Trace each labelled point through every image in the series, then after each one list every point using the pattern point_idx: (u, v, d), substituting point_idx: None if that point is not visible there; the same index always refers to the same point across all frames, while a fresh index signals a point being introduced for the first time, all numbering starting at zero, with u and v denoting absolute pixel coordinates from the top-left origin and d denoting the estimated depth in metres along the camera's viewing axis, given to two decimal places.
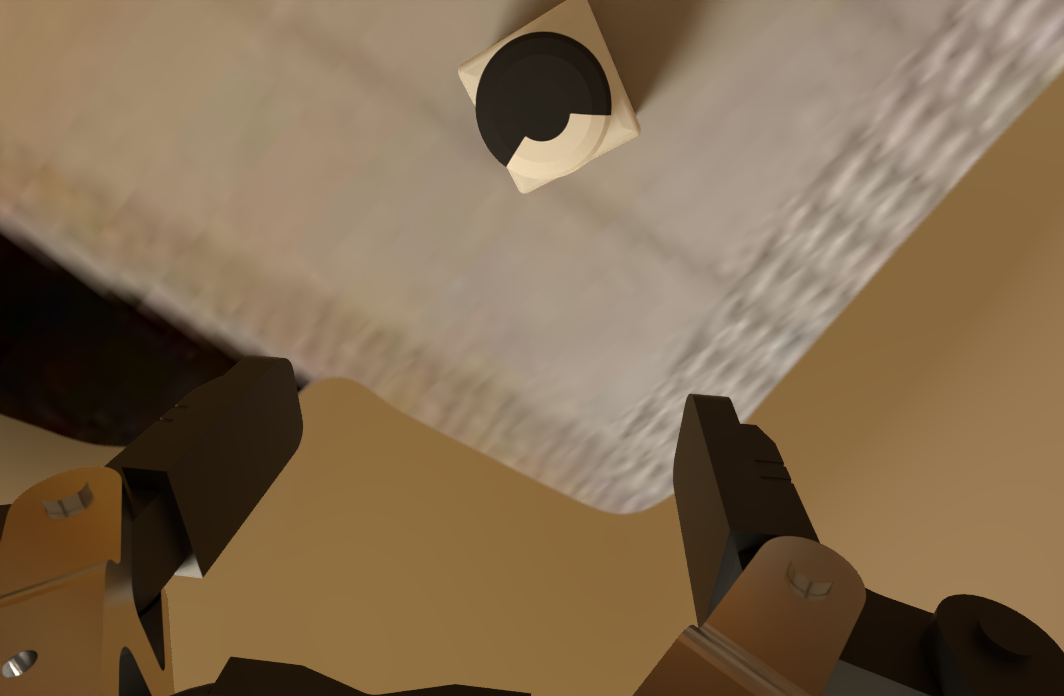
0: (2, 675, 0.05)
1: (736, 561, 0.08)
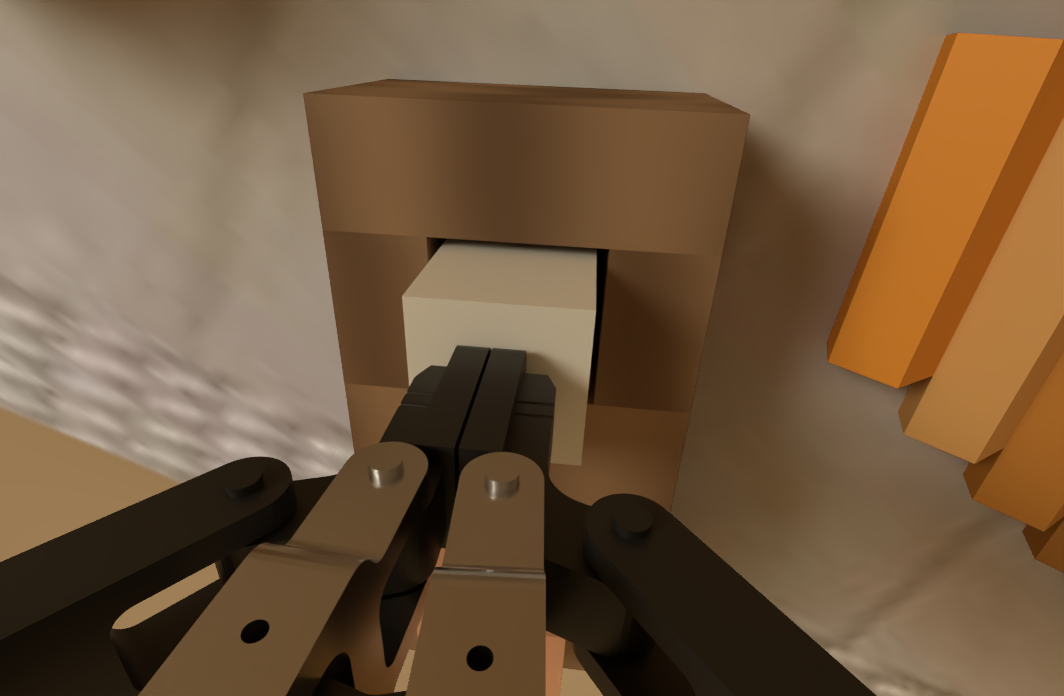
0: (240, 634, 0.05)
1: None
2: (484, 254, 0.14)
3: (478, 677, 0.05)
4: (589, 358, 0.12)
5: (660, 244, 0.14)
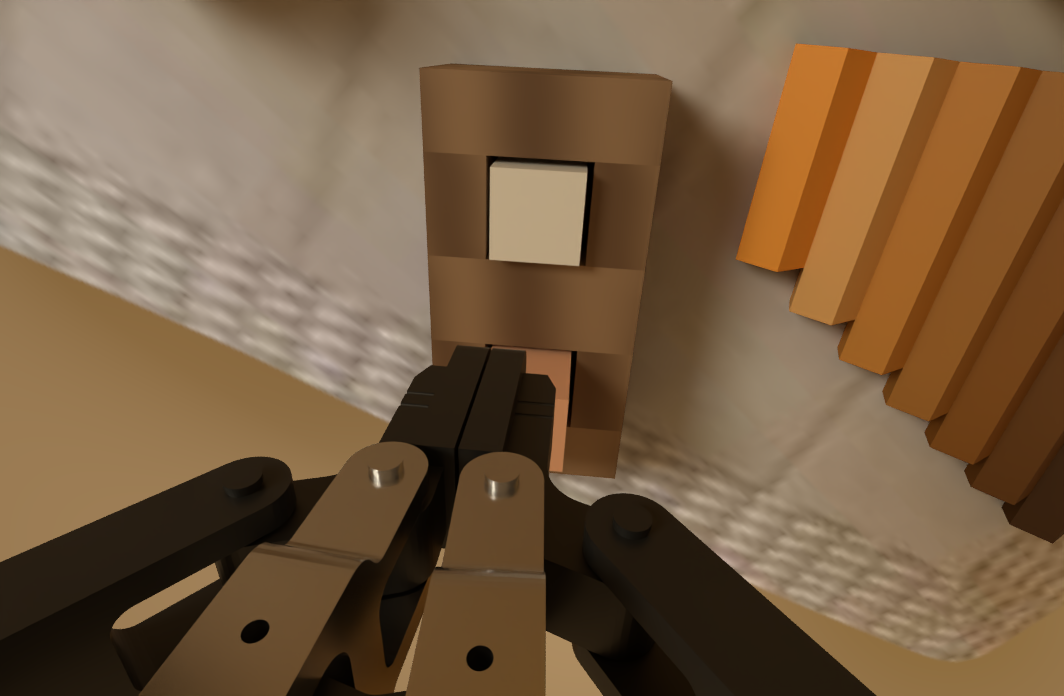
0: (240, 634, 0.05)
1: None
2: None
3: (478, 677, 0.05)
4: (584, 200, 0.24)
5: (624, 158, 0.24)
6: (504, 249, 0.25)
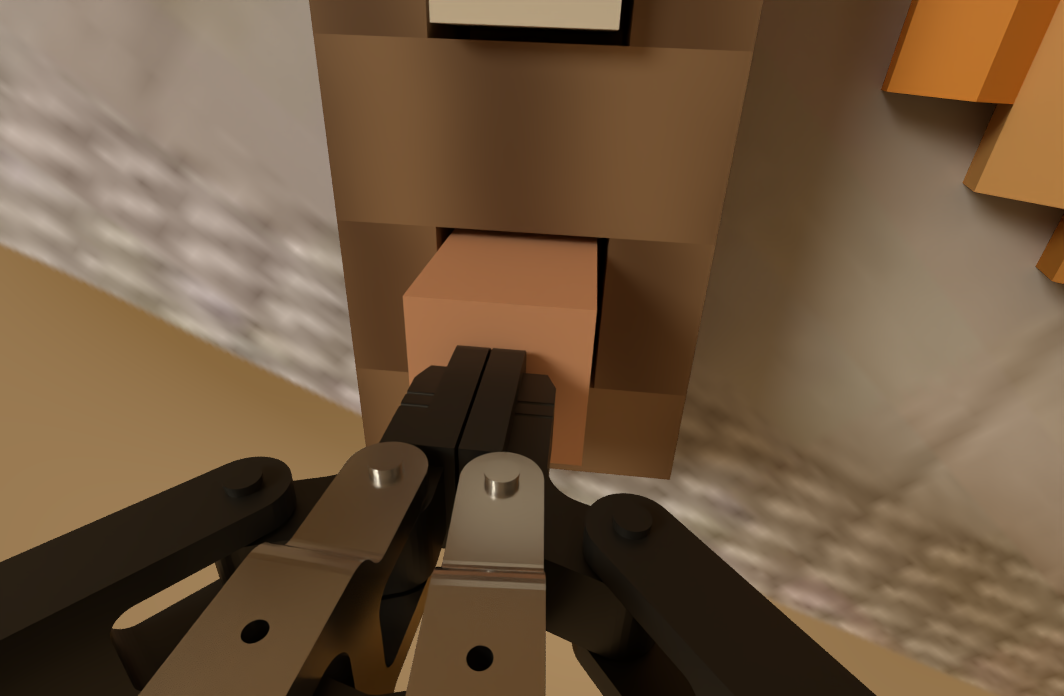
0: (240, 634, 0.05)
1: None
2: None
3: (478, 677, 0.05)
4: None
5: None
6: None
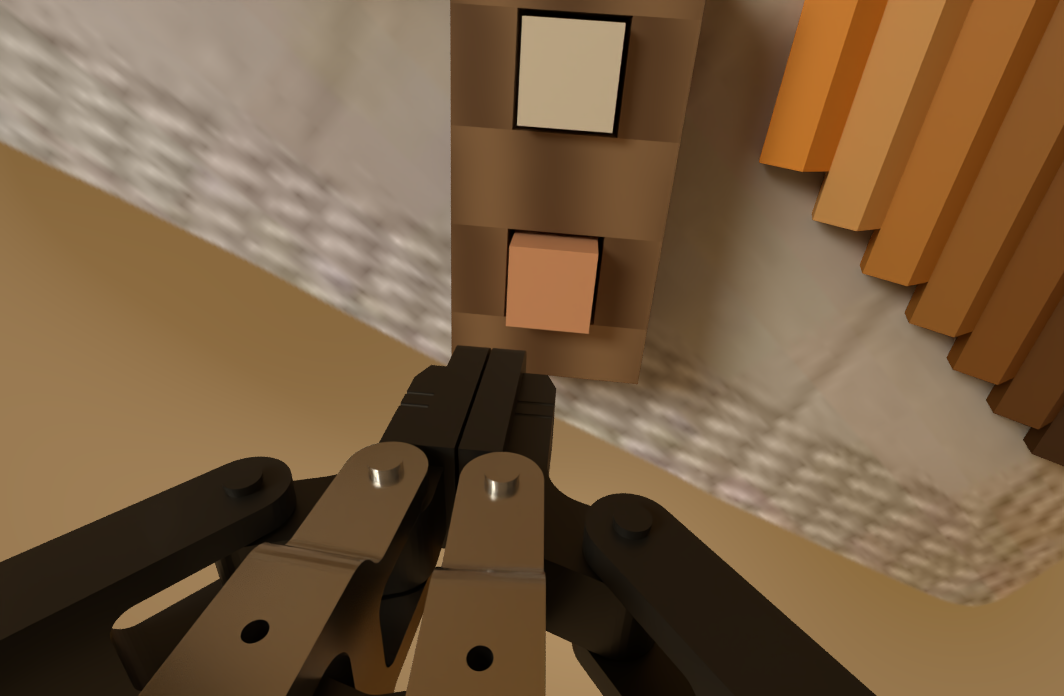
0: (240, 634, 0.05)
1: None
2: None
3: (478, 677, 0.05)
4: (620, 55, 0.22)
5: (664, 11, 0.22)
6: (533, 113, 0.24)
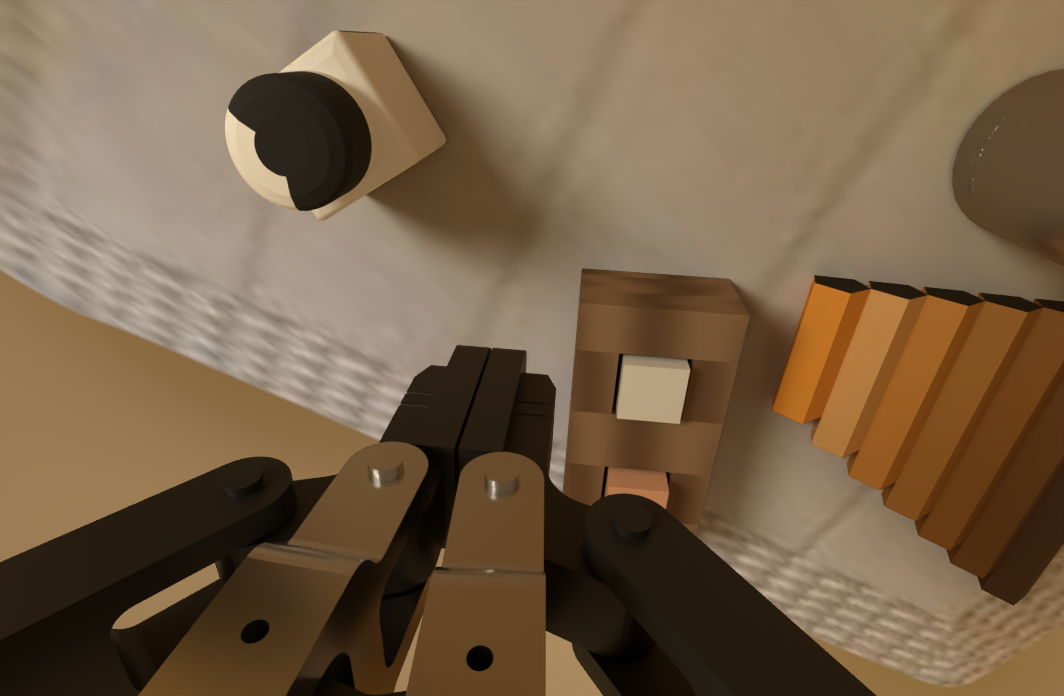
0: (240, 634, 0.05)
1: None
2: None
3: (478, 677, 0.05)
4: (686, 385, 0.35)
5: (714, 358, 0.35)
6: (628, 412, 0.36)
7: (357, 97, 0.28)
